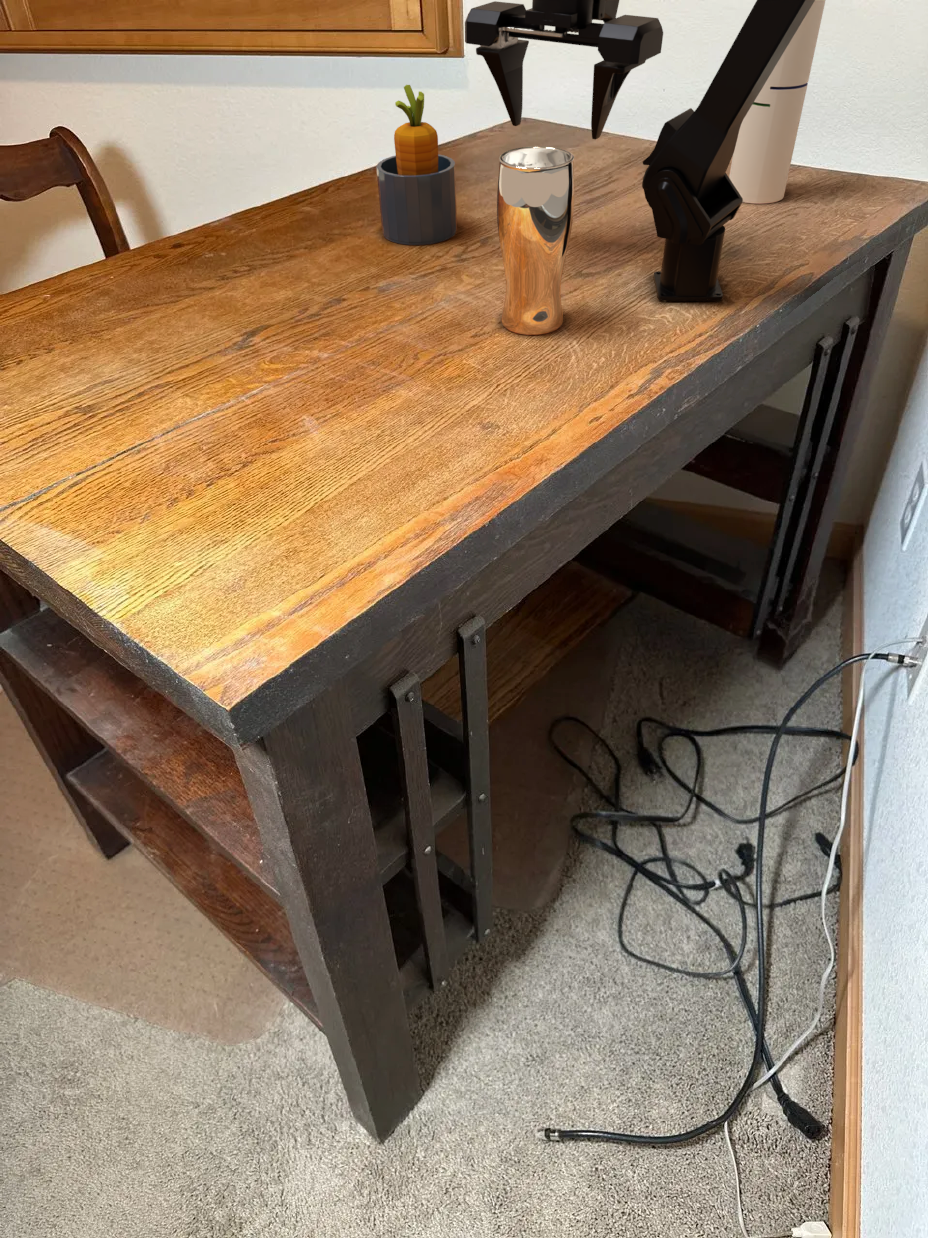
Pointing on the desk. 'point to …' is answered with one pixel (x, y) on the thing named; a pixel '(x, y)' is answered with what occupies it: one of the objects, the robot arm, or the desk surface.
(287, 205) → the desk surface
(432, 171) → the carrot
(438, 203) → the cup
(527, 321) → the beer glass
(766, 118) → the cylindrical container
